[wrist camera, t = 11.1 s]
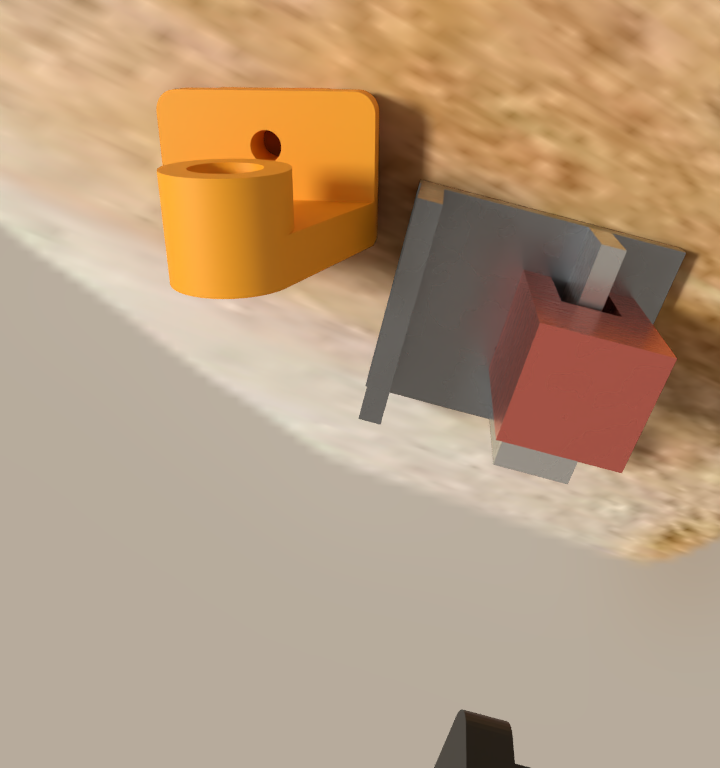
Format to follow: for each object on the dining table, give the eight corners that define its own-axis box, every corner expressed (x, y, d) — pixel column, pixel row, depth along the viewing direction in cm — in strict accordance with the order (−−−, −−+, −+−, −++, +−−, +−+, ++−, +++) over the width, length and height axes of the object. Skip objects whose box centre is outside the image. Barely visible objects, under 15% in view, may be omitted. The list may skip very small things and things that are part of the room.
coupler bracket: (420, 179, 36) (414, 201, 31) (680, 247, 36) (719, 282, 31) (367, 378, 42) (354, 427, 36) (593, 439, 41) (614, 496, 36)
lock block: (523, 269, 37) (539, 322, 29) (633, 298, 36) (677, 358, 29) (488, 369, 39) (495, 439, 32) (591, 396, 39) (621, 473, 32)
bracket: (381, 89, 35) (347, 105, 24) (378, 233, 38) (348, 304, 27) (174, 86, 36) (53, 101, 25) (188, 226, 39) (86, 292, 28)
